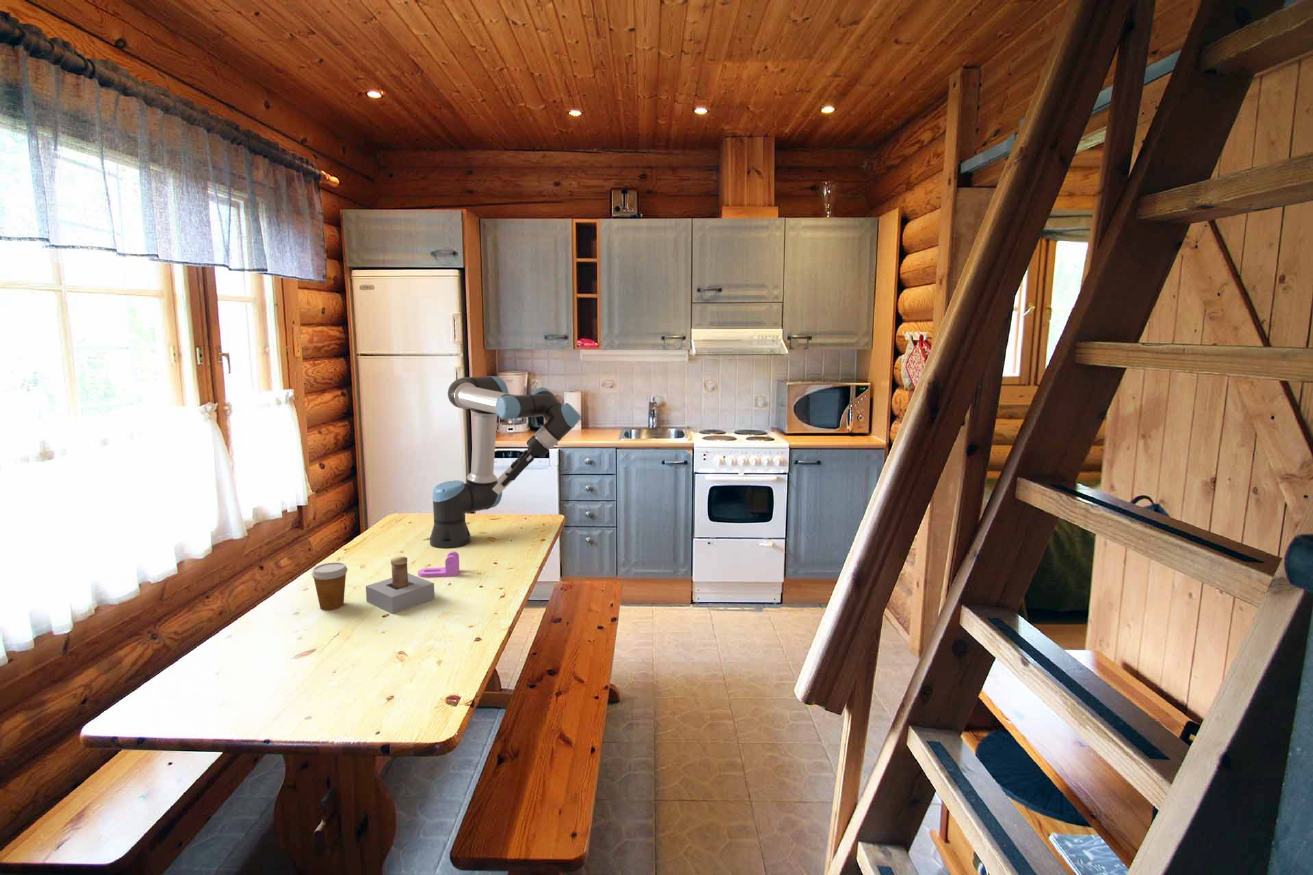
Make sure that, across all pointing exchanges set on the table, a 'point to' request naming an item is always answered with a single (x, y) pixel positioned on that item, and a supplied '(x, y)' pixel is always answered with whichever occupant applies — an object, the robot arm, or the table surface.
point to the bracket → (448, 570)
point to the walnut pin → (399, 572)
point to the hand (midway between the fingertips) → (497, 487)
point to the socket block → (400, 594)
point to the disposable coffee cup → (330, 584)
